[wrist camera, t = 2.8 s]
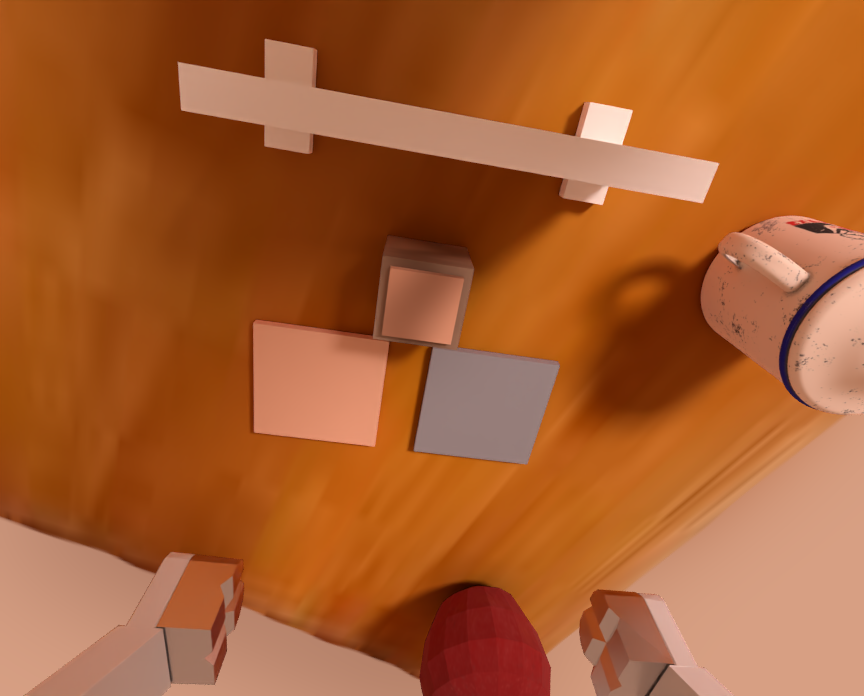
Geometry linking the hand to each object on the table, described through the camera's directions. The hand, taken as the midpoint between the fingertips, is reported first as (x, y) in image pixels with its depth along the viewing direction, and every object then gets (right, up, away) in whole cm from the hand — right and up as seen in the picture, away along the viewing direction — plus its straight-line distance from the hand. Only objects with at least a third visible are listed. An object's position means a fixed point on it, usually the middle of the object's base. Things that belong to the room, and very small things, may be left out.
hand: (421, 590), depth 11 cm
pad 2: (+4, +1, +24) cm, 24 cm away
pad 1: (-8, +3, +23) cm, 24 cm away
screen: (+1, +18, +15) cm, 24 cm away
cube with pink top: (0, +10, +19) cm, 22 cm away
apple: (+5, -18, +34) cm, 39 cm away
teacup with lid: (+21, +11, +20) cm, 31 cm away
